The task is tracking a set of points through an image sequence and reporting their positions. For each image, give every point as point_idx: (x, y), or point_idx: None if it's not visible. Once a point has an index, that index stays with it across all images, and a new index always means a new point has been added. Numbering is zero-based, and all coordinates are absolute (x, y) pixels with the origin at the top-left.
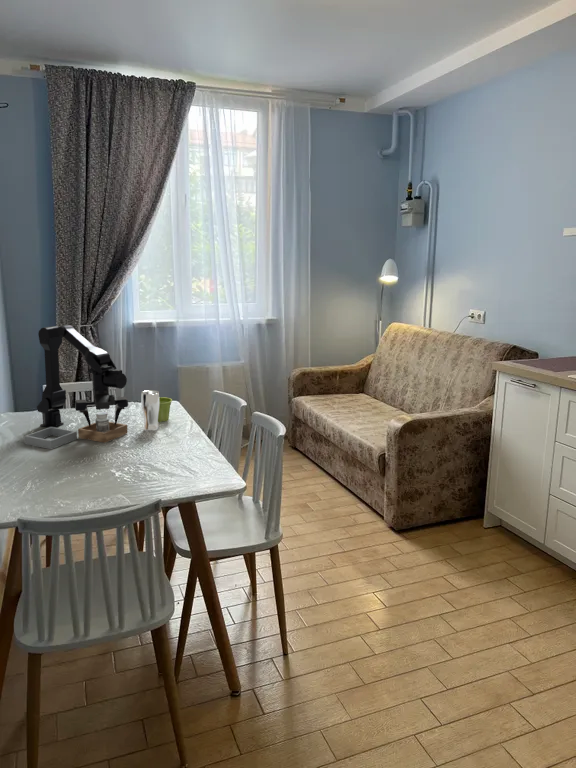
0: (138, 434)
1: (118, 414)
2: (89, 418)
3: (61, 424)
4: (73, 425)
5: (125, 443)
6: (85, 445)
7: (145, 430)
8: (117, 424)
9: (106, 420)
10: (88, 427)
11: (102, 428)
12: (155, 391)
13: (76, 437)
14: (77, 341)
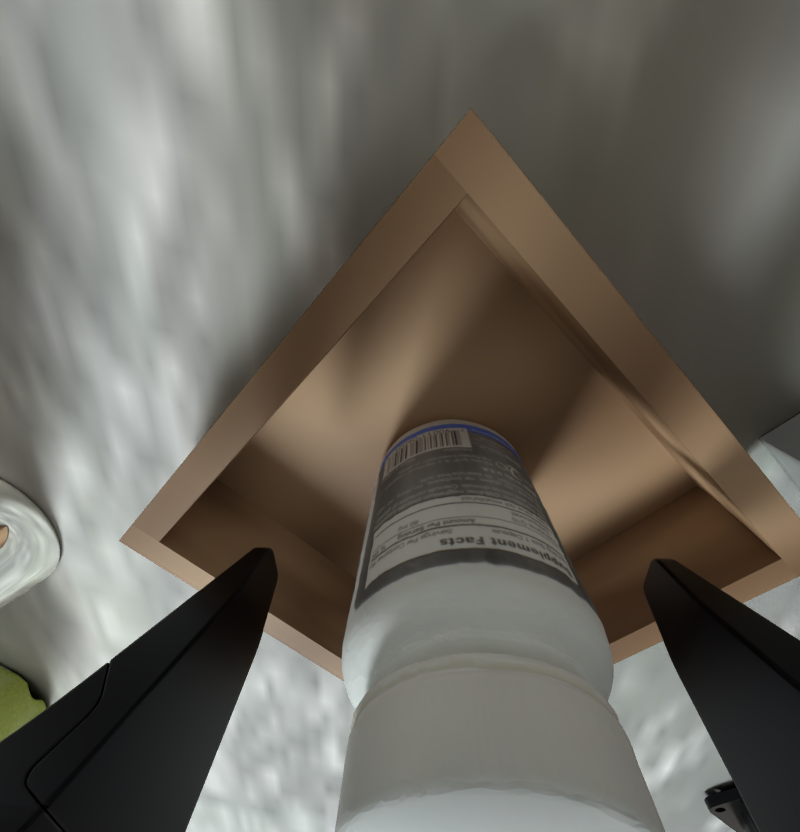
0: (66, 404)
1: (43, 723)
2: (774, 734)
3: (729, 792)
4: (642, 761)
5: (145, 15)
6: (770, 101)
7: (22, 496)
8: None
9: (388, 587)
10: (628, 609)
11: (471, 470)
12: None
13: (788, 445)
14: None
